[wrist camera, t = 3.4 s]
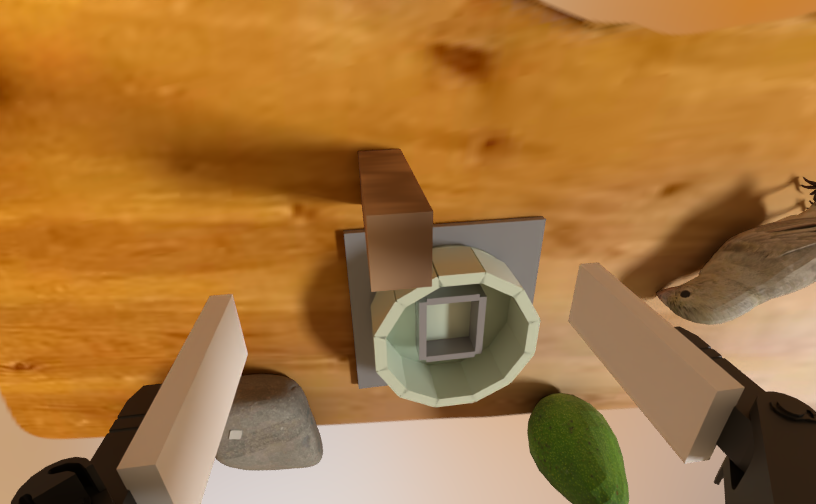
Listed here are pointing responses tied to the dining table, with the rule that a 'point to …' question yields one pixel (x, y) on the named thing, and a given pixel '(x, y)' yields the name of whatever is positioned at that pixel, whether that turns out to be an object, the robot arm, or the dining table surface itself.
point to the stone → (269, 426)
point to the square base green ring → (451, 314)
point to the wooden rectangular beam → (395, 222)
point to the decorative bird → (750, 270)
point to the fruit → (577, 451)
